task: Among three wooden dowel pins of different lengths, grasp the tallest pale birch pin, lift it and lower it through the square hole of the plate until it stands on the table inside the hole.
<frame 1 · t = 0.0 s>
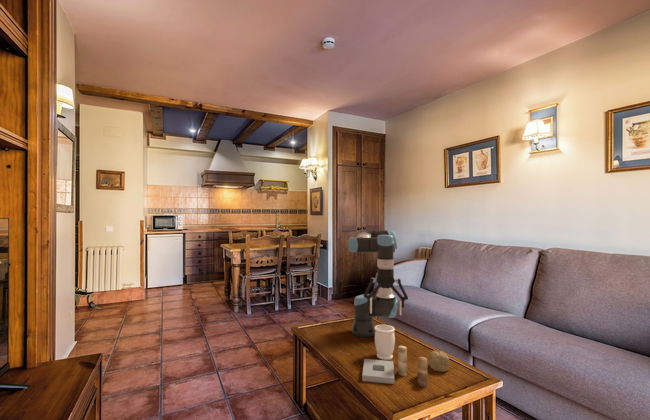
hand: (385, 313, 142), 28 cm above the table, fingers open, 13 cm apart
oak pin: (422, 376, 140), on the table
jar: (384, 357, 160), on the table
walnut pin: (422, 384, 133), on the table
decorative object: (439, 368, 148), on the table
birch pin: (402, 373, 142), on the table
hole plate: (378, 373, 142), on the table
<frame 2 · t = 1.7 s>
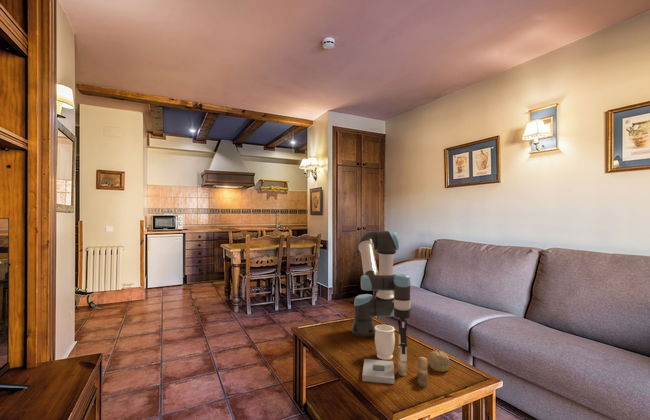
hand: (402, 354, 142), 9 cm above the table, fingers open, 13 cm apart
nothing on the table moved.
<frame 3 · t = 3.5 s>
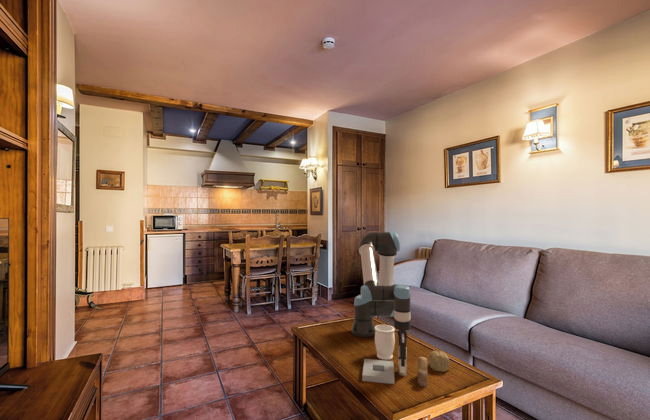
hand: (402, 369, 142), 2 cm above the table, fingers closed on birch pin, 4 cm apart
birch pin: (402, 373, 142), on the table, touching gripper
everything else where it was.
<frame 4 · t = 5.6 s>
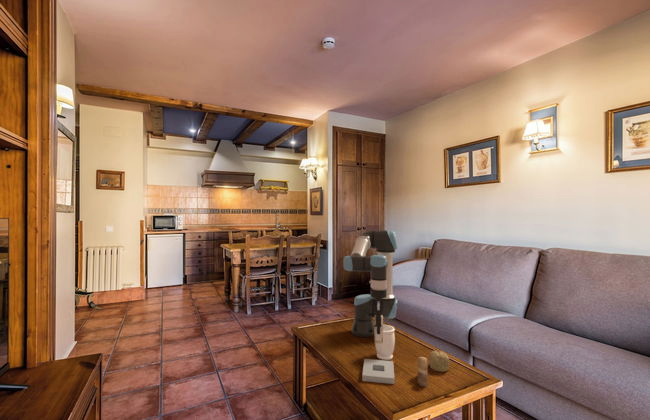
hand: (378, 338, 143), 16 cm above the table, fingers closed on birch pin, 4 cm apart
birch pin: (378, 341, 143), point 15 cm above the table, touching gripper
everything else where it was.
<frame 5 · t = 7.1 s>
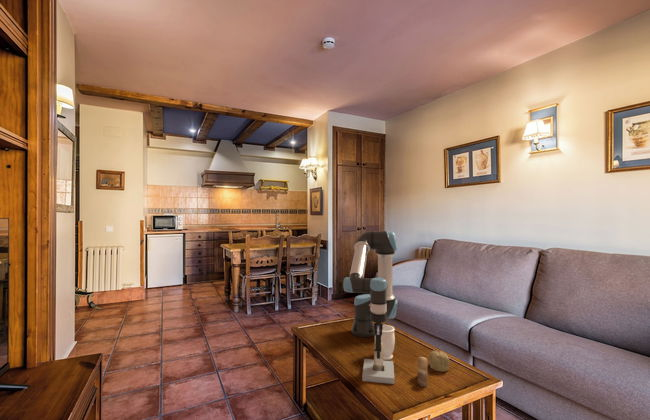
hand: (378, 362, 142), 5 cm above the table, fingers closed on birch pin, 4 cm apart
birch pin: (378, 369, 142), point 2 cm above the table, touching gripper
everything else where it was.
when the fingers open (3 cm above the table, at t = 7.7 s): birch pin stays where it is, resting in hole plate.
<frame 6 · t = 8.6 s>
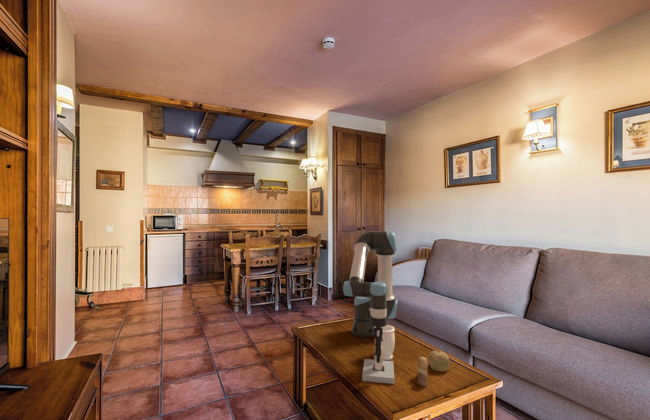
hand: (378, 362, 143), 5 cm above the table, fingers open, 13 cm apart
birch pin: (378, 373, 142), resting in hole plate
everything else where it was.
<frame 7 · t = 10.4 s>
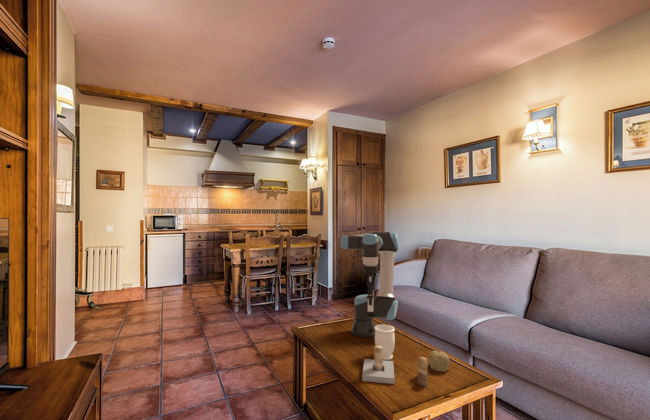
hand: (370, 306, 153), 28 cm above the table, fingers open, 13 cm apart
nothing on the table moved.
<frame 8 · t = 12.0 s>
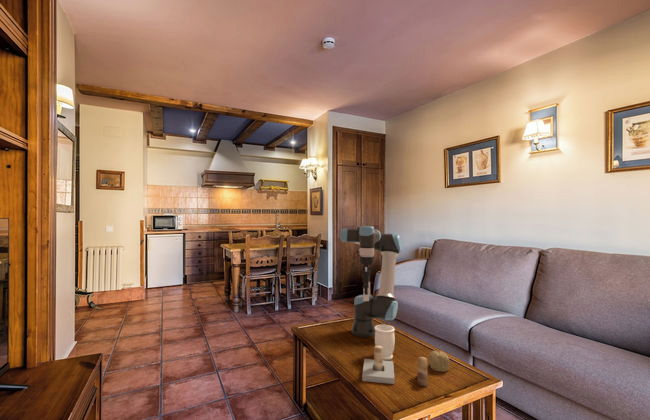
hand: (366, 297, 157), 32 cm above the table, fingers open, 13 cm apart
nothing on the table moved.
at the end: birch pin 0.1 cm off-centre on the hole plate, point 0.0 cm above the hole plate's base; birch pin tilted 0°; the gripper is holding nothing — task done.
